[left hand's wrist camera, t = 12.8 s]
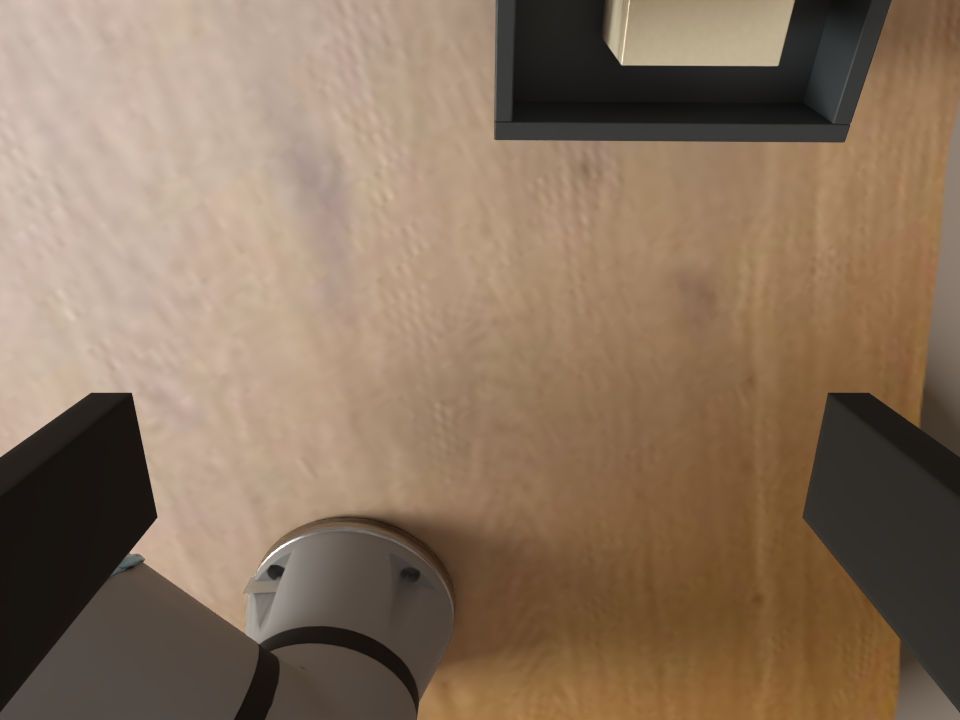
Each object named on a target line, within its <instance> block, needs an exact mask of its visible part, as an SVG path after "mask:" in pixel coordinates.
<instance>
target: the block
mask: <svg viewBox="0 0 960 720" xmlns="http://www.w3.org/2000/svg"><path fill="white" fill-rule="evenodd" d="M794 2H795V0H605V1H604V11H603V21H602V31H601V37H602V38H603V40H604V41H605V43H606V44H607V45H608V47H609V48H610V50H611V51H612V53H613V54H614V55H615V57H616V58H617V60H618V61H619V62H620V64H621V65H634V66H778V65H779V62H780V58H781V54H782V50H783V46H784V42H785V38H786V34H787V30H788V26H789V22H790V18H791V14H792V10H793V6H794Z"/></svg>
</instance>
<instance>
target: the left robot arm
mask: <svg viewBox="0 0 960 720" xmlns="http://www.w3.org/2000/svg"><path fill="white" fill-rule="evenodd" d="M156 519H157V512H156V508H155V503H154V498H153V493H152V488H151V483H150V478H149V474H148V469H147V464H146V459H145V454H144V449H143V445H142V440H141V435H140V430H139V425H138V420H137V416H136V411H135V406H134V401H133V396H132V393H90V394H89V395H88V396H86V397H85V398H83V399H82V400H80V401H79V402H78V403H76V404H75V405H73V406H72V407H71V408H69V409H68V410H66V411H65V412H64V413H62V414H61V415H59V416H58V417H57V418H55V419H54V420H52V421H51V422H50V423H48V424H47V425H45V426H44V427H42V428H41V429H40V430H38V431H37V432H35V433H34V434H33V435H31V436H30V437H28V438H27V439H26V440H24V441H23V442H21V443H20V444H19V445H17V446H16V447H14V448H13V449H11V450H10V451H9V452H7V453H6V454H4V455H3V456H2V457H0V720H417V714H418V706H419V701H420V699H421V697H422V696H423V694H424V692H425V690H426V688H427V686H428V684H429V682H430V680H431V678H432V677H433V675H434V673H435V671H436V669H437V667H438V665H439V663H440V661H441V659H442V658H443V656H444V654H445V652H446V649H447V647H448V644H449V642H450V639H451V636H452V632H453V626H454V613H455V596H454V590H453V586H452V583H451V580H450V578H449V576H448V573H447V571H446V570H445V568H444V566H443V565H442V563H441V562H440V561H439V559H438V558H437V557H436V556H435V555H434V554H433V553H432V551H431V550H429V549H428V548H427V547H426V546H425V545H424V544H423V543H421V542H420V541H419V540H417V539H416V538H414V537H413V536H411V535H409V534H408V533H406V532H404V531H402V530H400V529H398V528H395V527H393V526H390V525H387V524H384V523H381V522H377V521H373V520H368V519H361V518H331V519H324V520H319V521H315V522H312V523H308V524H306V525H303V526H301V527H299V528H297V529H295V530H293V531H291V532H289V533H288V534H286V535H285V536H283V537H282V538H281V539H280V540H278V541H277V542H276V543H275V544H274V545H273V546H272V547H271V548H270V550H269V551H268V552H267V554H266V555H265V557H264V558H263V560H262V562H261V564H260V566H259V568H258V570H257V572H256V574H255V576H254V578H250V580H249V582H248V584H247V586H246V588H245V590H244V592H243V593H249V595H248V600H247V611H246V630H245V634H244V633H243V632H241V631H240V630H239V629H237V628H236V627H234V626H233V625H231V624H230V623H229V622H227V621H226V620H224V619H223V618H222V617H220V616H219V615H217V614H216V613H214V612H213V611H212V610H210V609H209V608H207V607H206V606H204V605H203V604H202V603H200V602H199V601H197V600H196V599H194V598H193V597H192V596H190V595H189V594H187V593H186V592H184V591H183V590H182V589H180V588H179V587H177V586H176V585H174V584H173V583H172V582H170V581H169V580H167V579H166V578H164V577H163V576H162V575H160V574H159V573H157V572H156V571H154V570H153V569H152V568H150V567H149V566H147V565H146V564H144V563H143V562H144V560H145V559H144V558H143V557H142V556H141V555H139V554H129V552H130V551H131V550H132V548H133V547H134V546H135V545H136V543H137V542H138V541H139V540H140V538H141V537H142V536H143V535H144V533H145V532H146V531H147V530H148V528H149V527H150V526H151V525H152V524H153V522H154V521H155V520H156ZM803 519H804V520H805V521H806V522H807V524H808V525H809V526H810V527H811V528H812V530H813V531H814V532H815V533H816V535H817V536H818V537H819V538H820V540H821V541H822V542H823V543H824V545H825V546H826V547H827V548H828V550H829V551H830V552H831V553H832V555H833V556H834V557H835V558H836V560H837V561H838V562H839V563H840V564H841V566H842V567H843V568H844V569H845V571H846V572H847V573H848V574H849V576H850V577H851V578H852V579H853V581H854V582H855V583H856V584H857V586H858V587H859V588H860V589H861V591H862V592H863V593H864V594H865V596H866V597H867V598H868V599H869V601H870V602H871V603H872V604H873V605H874V607H875V608H876V609H877V610H878V612H879V613H880V614H881V615H882V617H883V618H884V619H885V620H886V622H887V623H888V624H889V625H890V627H891V628H892V629H893V630H894V632H895V633H896V634H897V635H898V637H899V638H900V639H901V640H902V641H903V643H904V644H905V645H906V646H907V648H908V649H909V650H910V651H911V653H912V654H913V655H914V656H915V658H916V659H917V660H918V661H919V662H920V664H921V665H922V666H923V668H924V669H925V670H926V671H927V673H928V674H929V675H930V676H931V677H932V679H933V680H934V681H935V682H936V684H937V685H938V686H939V687H940V689H941V690H942V691H943V692H944V694H945V695H946V696H947V697H948V699H949V700H950V701H951V702H952V704H953V705H954V706H955V707H956V709H957V710H958V711H959V712H960V457H958V456H957V455H956V454H954V453H953V452H951V451H950V450H949V449H947V448H946V447H944V446H943V445H941V444H940V443H939V442H937V441H936V440H934V439H933V438H932V437H930V436H929V435H927V434H926V433H925V432H923V431H922V430H920V429H919V428H918V427H916V426H915V425H913V424H912V423H910V422H909V421H908V420H906V419H905V418H903V417H902V416H901V415H899V414H898V413H896V412H895V411H894V410H892V409H891V408H889V407H888V406H887V405H885V404H884V403H882V402H881V401H880V400H878V399H877V398H875V397H874V396H872V395H871V394H870V393H828V396H827V401H826V406H825V411H824V416H823V420H822V425H821V430H820V435H819V440H818V445H817V449H816V454H815V459H814V464H813V469H812V474H811V478H810V483H809V488H808V493H807V498H806V503H805V508H804V512H803Z"/></svg>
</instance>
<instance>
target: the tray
mask: <svg viewBox="0 0 960 720" xmlns="http://www.w3.org/2000/svg"><path fill="white" fill-rule="evenodd" d="M604 1H605V0H496V35H495V110H494V139H495V140H582V141H722V142H845V139H846V136H847V133H848V130H849V127H850V123H851V121H852V118H853V115H854V112H855V109H856V106H857V103H858V100H859V97H860V94H861V91H862V88H863V85H864V82H865V79H866V76H867V73H868V70H869V67H870V64H871V61H872V58H873V55H874V52H875V48H876V45H877V42H878V39H879V36H880V33H881V30H882V27H883V24H884V21H885V18H886V15H887V12H888V9H889V6H890V3H891V0H795V2H794V6H793V10H792V14H791V18H790V22H789V26H788V30H787V34H786V38H785V42H784V46H783V50H782V54H781V58H780V62H779V65H778V66H634V65H621V64H620V62H619V61H618V60H617V58H616V57H615V55H614V54H613V53H612V51H611V50H610V48H609V47H608V45H607V44H606V43H605V41H604V40H603V38H602V37H601V31H602V21H603V11H604Z"/></svg>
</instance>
